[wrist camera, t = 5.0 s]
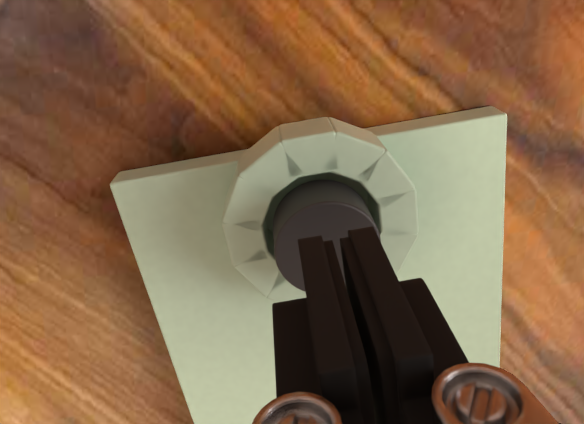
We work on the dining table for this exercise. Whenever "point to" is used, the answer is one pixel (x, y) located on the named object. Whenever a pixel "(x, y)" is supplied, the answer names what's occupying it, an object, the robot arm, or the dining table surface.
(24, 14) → the dining table surface
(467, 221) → the scale
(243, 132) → the dining table surface
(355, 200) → the tare button
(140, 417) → the dining table surface
